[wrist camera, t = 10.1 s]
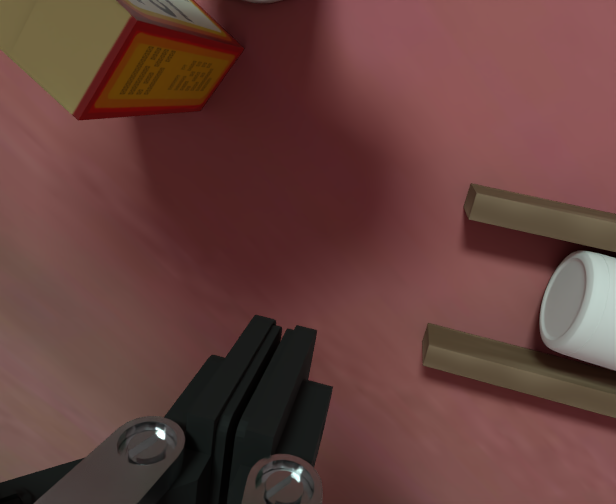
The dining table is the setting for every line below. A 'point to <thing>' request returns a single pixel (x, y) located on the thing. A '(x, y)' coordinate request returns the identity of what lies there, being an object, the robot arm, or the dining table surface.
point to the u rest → (513, 359)
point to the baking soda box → (119, 53)
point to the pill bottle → (582, 309)
